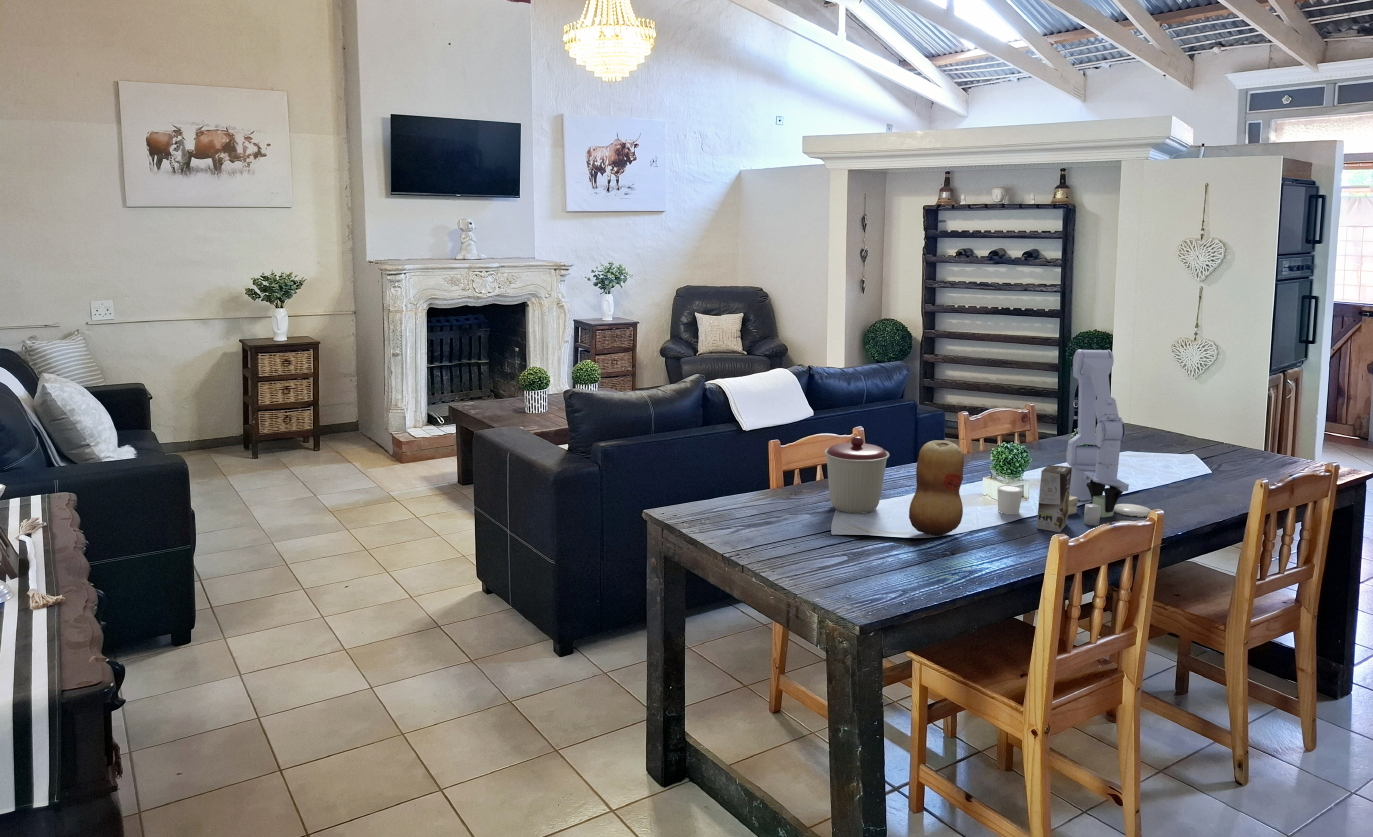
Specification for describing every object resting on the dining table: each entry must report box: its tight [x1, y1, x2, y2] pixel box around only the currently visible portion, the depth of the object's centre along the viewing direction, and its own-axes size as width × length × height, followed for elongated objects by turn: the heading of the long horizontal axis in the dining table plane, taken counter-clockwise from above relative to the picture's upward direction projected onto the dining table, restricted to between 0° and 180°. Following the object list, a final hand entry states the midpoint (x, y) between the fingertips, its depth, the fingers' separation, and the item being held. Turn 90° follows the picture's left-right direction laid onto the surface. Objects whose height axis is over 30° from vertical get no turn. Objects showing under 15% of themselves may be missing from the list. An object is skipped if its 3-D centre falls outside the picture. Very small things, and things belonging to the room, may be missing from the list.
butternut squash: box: [908, 439, 965, 537], centre depth 264 cm, size 14×13×25 cm
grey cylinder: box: [1083, 503, 1101, 527], centre depth 277 cm, size 4×4×5 cm
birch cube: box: [1068, 496, 1079, 516], centre depth 287 cm, size 4×4×4 cm
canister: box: [824, 435, 890, 514], centre depth 287 cm, size 18×18×21 cm
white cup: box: [997, 484, 1024, 515], centre depth 287 cm, size 7×7×7 cm
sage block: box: [1092, 494, 1115, 518], centre depth 285 cm, size 4×4×5 cm
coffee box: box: [1036, 464, 1072, 533], centre depth 273 cm, size 9×6×16 cm
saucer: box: [1114, 503, 1152, 518], centre depth 288 cm, size 10×10×1 cm
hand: (1102, 509), depth 285 cm, fingers closed on sage block, 4 cm apart
